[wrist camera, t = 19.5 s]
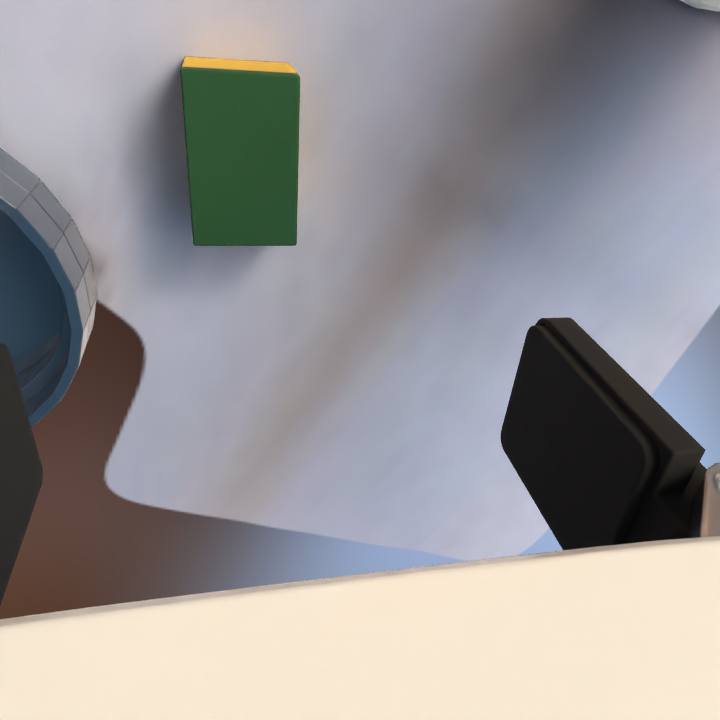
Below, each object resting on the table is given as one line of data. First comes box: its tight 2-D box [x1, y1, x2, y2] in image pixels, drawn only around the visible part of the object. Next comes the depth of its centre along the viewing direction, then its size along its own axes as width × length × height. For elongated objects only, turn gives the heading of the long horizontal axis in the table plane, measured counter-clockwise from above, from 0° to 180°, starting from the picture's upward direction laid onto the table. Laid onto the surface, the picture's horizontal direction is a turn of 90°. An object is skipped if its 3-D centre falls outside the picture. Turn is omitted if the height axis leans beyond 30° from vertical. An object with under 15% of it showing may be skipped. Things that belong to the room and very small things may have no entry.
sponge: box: [180, 57, 300, 246], centre depth 26 cm, size 7×4×4 cm, turn 175°
